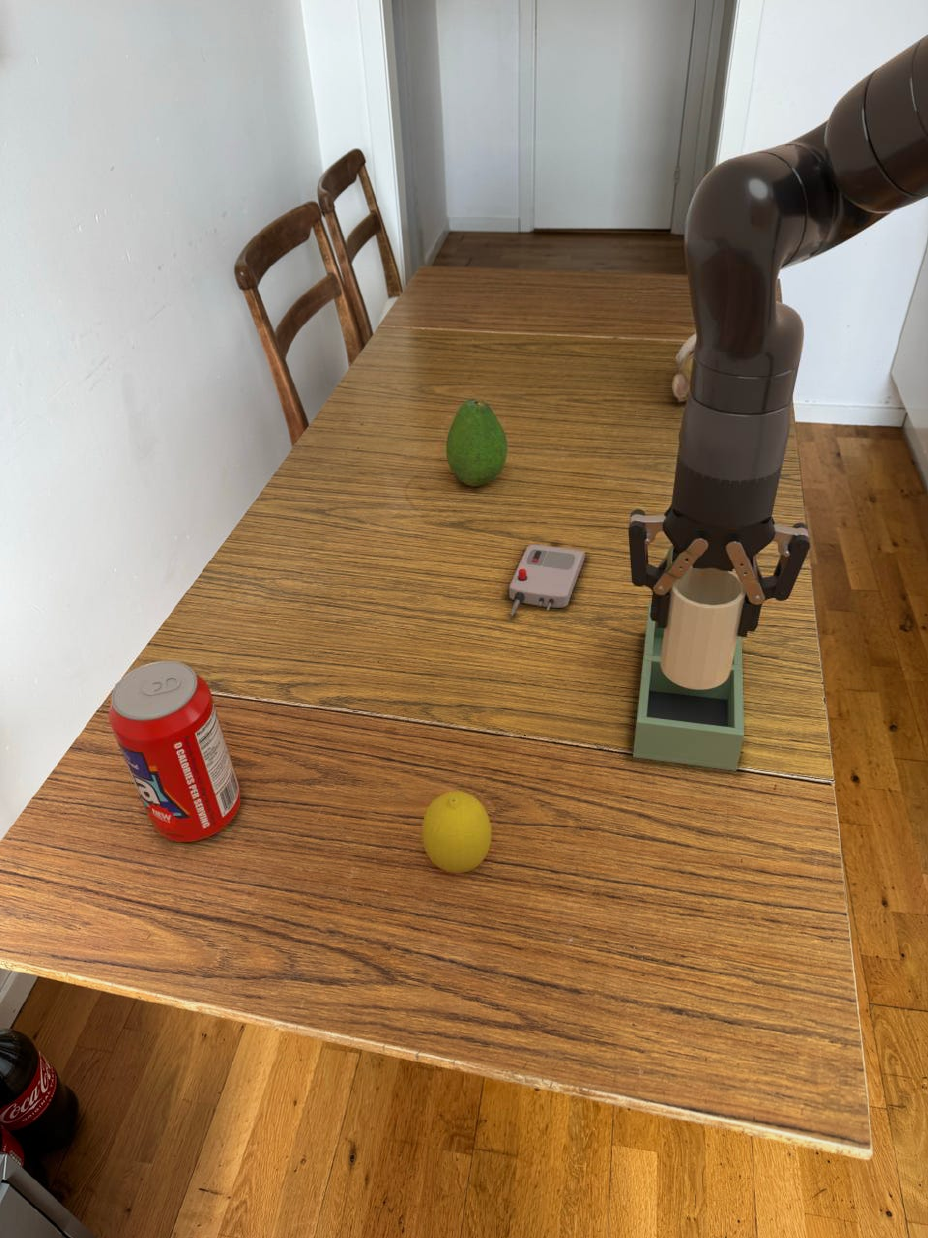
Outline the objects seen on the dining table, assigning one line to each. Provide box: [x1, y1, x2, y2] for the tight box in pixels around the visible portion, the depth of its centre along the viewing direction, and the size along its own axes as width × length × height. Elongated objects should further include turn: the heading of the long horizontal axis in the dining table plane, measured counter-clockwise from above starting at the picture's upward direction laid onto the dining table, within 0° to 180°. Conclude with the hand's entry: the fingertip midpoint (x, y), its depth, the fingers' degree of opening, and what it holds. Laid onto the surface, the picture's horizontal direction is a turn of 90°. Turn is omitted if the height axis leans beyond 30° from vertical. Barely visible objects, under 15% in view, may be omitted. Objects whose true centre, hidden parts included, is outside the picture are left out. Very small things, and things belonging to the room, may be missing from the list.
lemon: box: [421, 790, 493, 874], centre depth 70 cm, size 6×6×8 cm
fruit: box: [445, 398, 508, 488], centre depth 116 cm, size 8×8×12 cm
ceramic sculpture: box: [670, 332, 696, 403], centre depth 136 cm, size 11×9×15 cm
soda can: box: [108, 660, 242, 843], centre depth 74 cm, size 8×8×15 cm
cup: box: [660, 566, 746, 690], centre depth 76 cm, size 6×6×9 cm
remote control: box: [508, 543, 586, 617], centre depth 101 cm, size 7×16×3 cm, turn 162°
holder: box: [632, 601, 745, 772], centre depth 85 cm, size 17×9×5 cm, turn 167°
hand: (701, 626), depth 76 cm, fingers closed on cup, 6 cm apart
